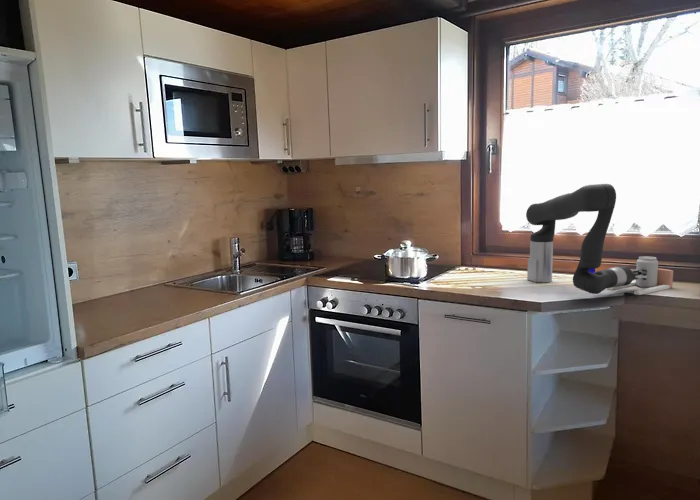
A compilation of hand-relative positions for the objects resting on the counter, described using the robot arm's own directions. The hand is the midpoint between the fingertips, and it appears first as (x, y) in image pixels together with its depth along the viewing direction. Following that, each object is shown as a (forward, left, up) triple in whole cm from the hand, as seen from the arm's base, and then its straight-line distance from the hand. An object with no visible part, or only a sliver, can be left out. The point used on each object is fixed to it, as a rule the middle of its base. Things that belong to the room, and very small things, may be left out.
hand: (644, 271), depth 205 cm
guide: (-2, 0, -7) cm, 7 cm away
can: (+3, +2, -7) cm, 8 cm away
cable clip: (-13, +14, -7) cm, 20 cm away
